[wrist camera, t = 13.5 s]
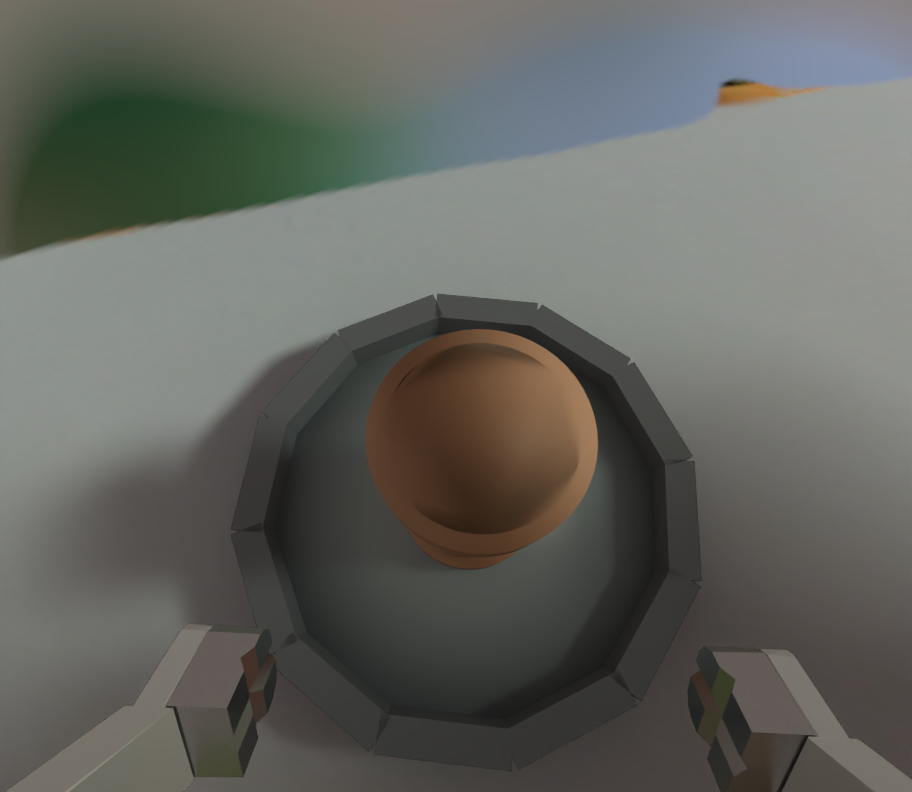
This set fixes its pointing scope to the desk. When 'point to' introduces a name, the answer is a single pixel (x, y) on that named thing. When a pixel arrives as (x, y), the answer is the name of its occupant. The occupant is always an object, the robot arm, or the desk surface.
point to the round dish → (455, 590)
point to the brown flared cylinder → (480, 445)
